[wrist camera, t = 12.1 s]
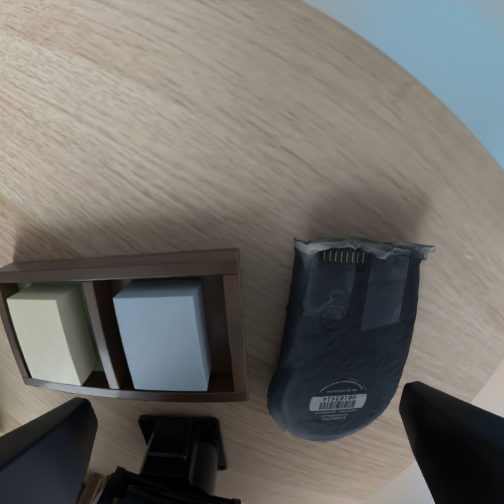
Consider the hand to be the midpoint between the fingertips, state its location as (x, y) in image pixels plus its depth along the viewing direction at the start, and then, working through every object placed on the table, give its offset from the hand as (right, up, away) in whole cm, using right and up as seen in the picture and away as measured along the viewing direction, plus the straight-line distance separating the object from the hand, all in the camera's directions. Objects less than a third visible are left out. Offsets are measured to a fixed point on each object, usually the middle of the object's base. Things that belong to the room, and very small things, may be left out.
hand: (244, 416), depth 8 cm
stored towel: (-5, 0, +12) cm, 13 cm away
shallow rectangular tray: (-9, 0, +12) cm, 15 cm away
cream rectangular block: (-13, -1, +11) cm, 17 cm away
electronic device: (+6, -2, +13) cm, 14 cm away
